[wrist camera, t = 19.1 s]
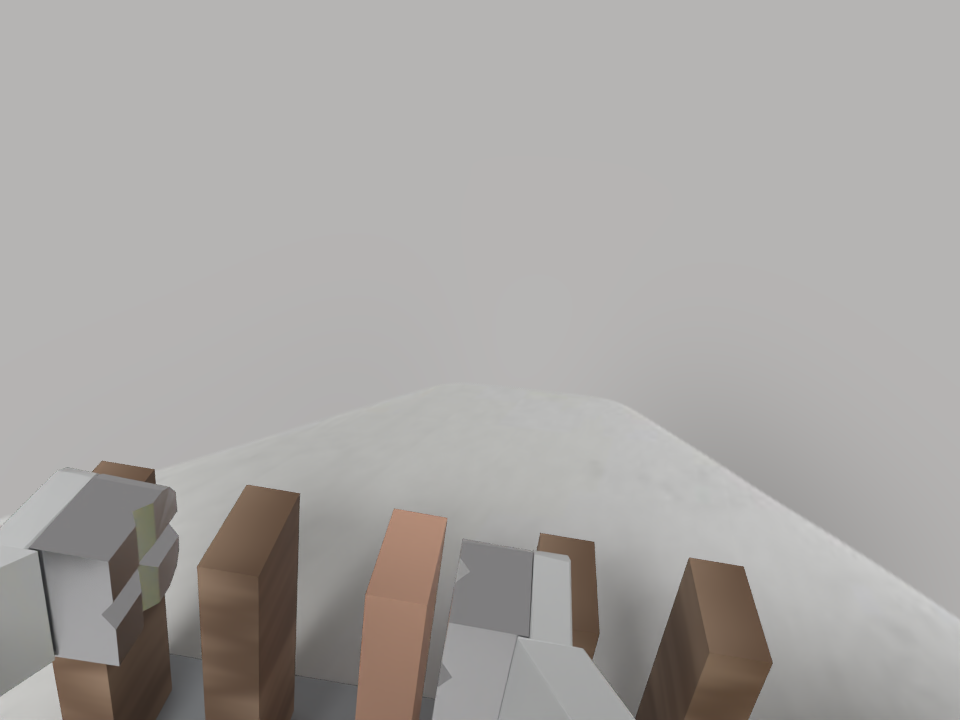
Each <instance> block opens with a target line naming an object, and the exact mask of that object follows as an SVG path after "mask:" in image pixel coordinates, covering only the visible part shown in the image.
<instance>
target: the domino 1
mask: <svg viewBox="0 0 960 720" xmlns="http://www.w3.org/2000/svg"><path fill="white" fill-rule="evenodd" d="M92 472H94V473H98V474H107V475H112V476H117V477H122V478H127V479H132V480H137V481H142V482H147V483H152V484H156V481H155V470H154V469H149V468H143V467H136V466H130V465H125V464H118V463H112V462H106V461H101V463H100V464H99V465H98V466H97V467H96V468H95V469H94V470H93V471H92ZM143 617H144V628H143V630H142V632H141V633H140V635H139V636H138V638H137V639H136V641H135V643H134V644H133V646H132V647H131V649H130V650H129V652H128V654H127V655H126V657H125V658H124V660H123V661H122V663H121V665H120V666H115V665H108V664H101V663H95V662H88V661H82V660H75V659H68V658H62V657H55V661H53V662H52V663H53V669H54V674H55V680H56V685H57V691H58V696H59V702H60V707H61V713H62V718H63V720H156V718H157V717H158V715H159V713H160V711H161V709H162V707H163V705H164V704H165V702H166V700H167V698H168V696H169V694H170V692H171V691H172V681H171V668H170V656H169V643H168V631H167V618H166V606H165V595H164V596H163V598H162V600H161V601H160V602H159V603H158V604H156V605H154V606H152V607H150V608H149V609H147V610H145V611H143Z"/></svg>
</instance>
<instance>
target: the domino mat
mask: <svg viewBox="0 0 960 720" xmlns="http://www.w3.org/2000/svg"><path fill="white" fill-rule="evenodd" d="M169 656H170V668H171V681H172V691H171V692H170V694H169V696H168V698H167V700H166V702H165V704H164V705H163V707H162V709H161V711H160V713H159V715H158V717H157V718H156V720H205V706H204V687H203V668H202V659H198V658H192V657H186V656H180V655H174V654H169ZM357 691H358V686H356V685H350V684H344V683H339V682H333V681H327V680H321V679H315V678H309V677H303V676H297V675H295V688H294V711H293V714H292V717H291V720H355V715H356V703H357ZM434 704H435V699H432V698H426V697H422V702H421V710H420V717H419V720H432V716H433V710H434Z"/></svg>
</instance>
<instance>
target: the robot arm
mask: <svg viewBox="0 0 960 720" xmlns="http://www.w3.org/2000/svg"><path fill="white" fill-rule="evenodd" d="M176 512H177V502H176V492H175V491H174V490H173V489H171V488H170V487H167V486H162V485H157V484H152V483H147V482H142V481H137V480H132V479H127V478H122V477H117V476H112V475H107V474H98V473H94V472H89V471H83V470H79V469H74V468H69V467H67V468H64V469H61V470H58V471H56V472H55V473H54V474H53V475H52V476H51V477H50V478H49V479H48V480H47V481H46V482H45V483H44V484H43V485H42V486H41V487H40V488H39V489H38V490H37V491H36V492H35V493H34V494H33V495H32V496H31V497H30V498H29V499H28V500H27V501H26V502H25V503H24V504H23V505H22V506H21V507H20V508H19V509H18V510H17V511H16V512H15V513H14V514H13V515H12V516H11V517H10V518H9V519H8V520H7V521H6V522H5V523H4V524H3V525H2V526H1V527H0V696H2V695H3V694H5V693H6V692H8V691H9V690H11V689H12V688H14V687H15V686H17V685H18V684H20V683H21V682H23V681H24V680H26V679H27V678H29V677H30V676H32V675H33V674H35V673H36V672H38V671H39V670H41V669H42V668H44V667H45V666H47V665H48V664H50V663H51V662H53V661H55V657H62V658H68V659H75V660H82V661H88V662H95V663H101V664H108V665H115V666H120V665H121V663H122V661H123V660H124V658H125V657H126V655H127V654H128V652H129V650H130V649H131V647H132V646H133V644H134V643H135V641H136V639H137V638H138V636H139V635H140V633H141V632H142V630H143V628H144V617H143V611H145V610H147V609H149V608H150V607H152V606H154V605H156V604H158V603H159V602H160V601H161V600H162V598H163V596H164V595H165V593H166V591H167V590H168V588H169V586H170V583H171V581H172V578H173V575H174V572H175V569H176V567H177V560H178V553H179V536H178V534H177V533H176V532H175V531H174V529H173V528H172V527H171V526H170V524H169V522H170V521H171V519H172V518H173V516H174V515H175V514H176ZM432 720H636V719H635V718H634V716H633V715H632V714H631V712H630V711H629V710H628V708H627V707H626V706H625V704H624V703H623V702H622V700H621V699H620V698H619V696H618V695H617V693H616V692H615V691H614V689H613V688H612V687H611V685H610V684H609V683H608V681H607V680H606V679H605V677H604V676H603V674H602V673H601V672H600V670H599V669H598V668H597V666H596V665H595V664H594V662H593V661H592V660H591V658H590V657H589V656H588V654H587V653H586V651H585V650H584V649H583V648H578V647H573V646H572V597H571V560H570V558H569V557H568V555H562V554H555V553H549V552H543V551H536V550H533V552H532V551H531V550H526V549H520V548H514V547H508V546H502V545H496V544H490V543H484V542H478V541H472V540H467V539H463V540H462V546H461V551H460V557H459V562H458V568H457V574H456V579H455V585H454V590H453V597H452V602H451V608H450V613H449V619H448V625H447V631H446V637H445V643H444V648H443V655H442V661H441V667H440V673H439V679H438V685H437V691H436V698H435V704H434V710H433V716H432Z"/></svg>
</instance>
